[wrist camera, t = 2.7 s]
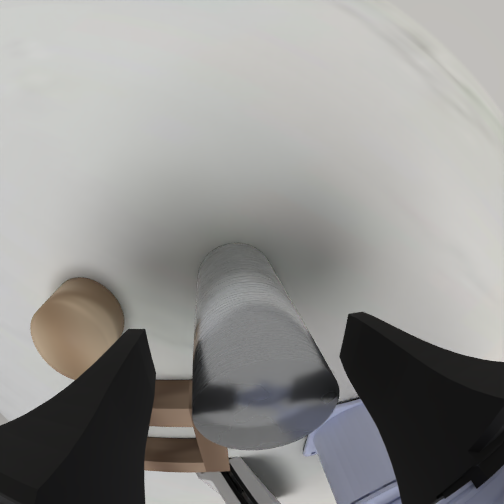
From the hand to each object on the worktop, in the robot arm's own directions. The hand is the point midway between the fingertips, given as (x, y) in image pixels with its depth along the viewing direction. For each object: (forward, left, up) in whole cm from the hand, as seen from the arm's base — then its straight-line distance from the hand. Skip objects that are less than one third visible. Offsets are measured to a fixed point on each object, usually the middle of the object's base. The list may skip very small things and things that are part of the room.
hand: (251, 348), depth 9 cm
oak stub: (+9, +2, -6) cm, 11 cm away
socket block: (+6, +12, -6) cm, 15 cm away
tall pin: (0, 0, -6) cm, 6 cm away
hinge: (-1, +27, -6) cm, 28 cm away
